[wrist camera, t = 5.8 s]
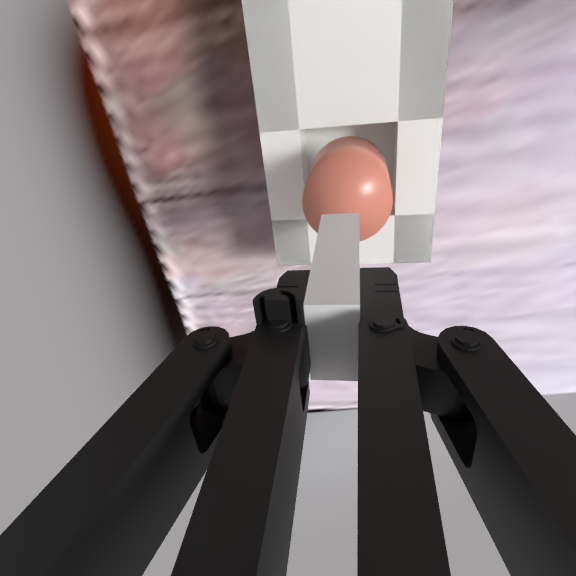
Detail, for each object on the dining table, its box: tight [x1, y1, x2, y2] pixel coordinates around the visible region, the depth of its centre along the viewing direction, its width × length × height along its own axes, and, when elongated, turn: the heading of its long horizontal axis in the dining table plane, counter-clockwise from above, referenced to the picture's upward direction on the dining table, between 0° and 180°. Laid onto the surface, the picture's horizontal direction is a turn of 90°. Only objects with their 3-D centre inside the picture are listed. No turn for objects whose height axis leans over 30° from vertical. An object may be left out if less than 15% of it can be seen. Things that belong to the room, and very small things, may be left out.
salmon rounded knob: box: [302, 136, 393, 241], centre depth 22 cm, size 4×4×4 cm
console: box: [242, 0, 453, 265], centre depth 22 cm, size 24×10×4 cm, turn 6°
